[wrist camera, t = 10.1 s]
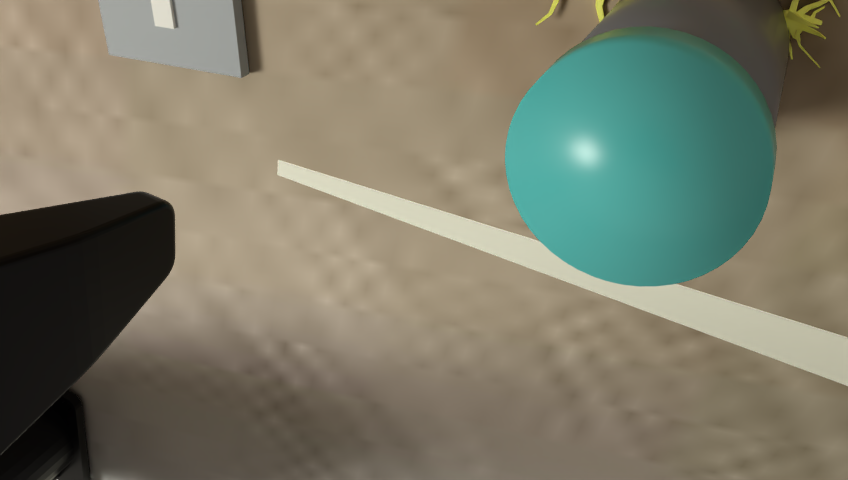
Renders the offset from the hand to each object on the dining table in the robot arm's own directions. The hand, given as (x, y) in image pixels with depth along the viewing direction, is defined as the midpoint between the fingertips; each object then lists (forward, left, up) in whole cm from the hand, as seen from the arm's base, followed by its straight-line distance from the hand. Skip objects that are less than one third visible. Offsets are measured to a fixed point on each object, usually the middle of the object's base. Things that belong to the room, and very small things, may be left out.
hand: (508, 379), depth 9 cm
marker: (0, 0, -12) cm, 12 cm away
